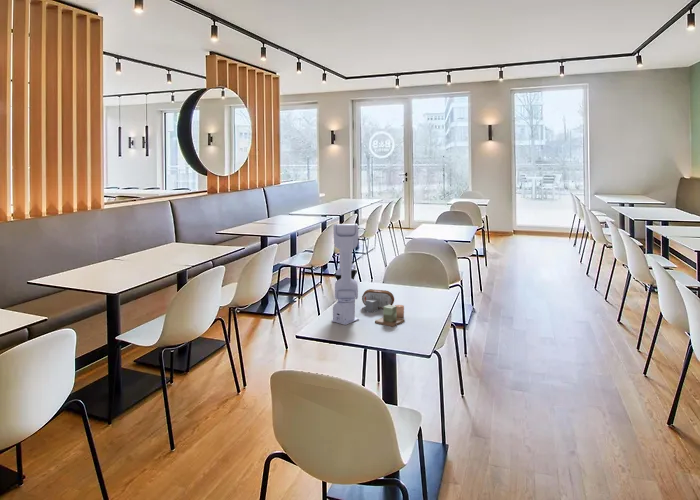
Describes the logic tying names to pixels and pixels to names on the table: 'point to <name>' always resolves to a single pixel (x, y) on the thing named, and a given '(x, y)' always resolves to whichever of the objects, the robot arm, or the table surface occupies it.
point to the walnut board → (390, 322)
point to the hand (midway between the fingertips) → (346, 287)
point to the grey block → (371, 305)
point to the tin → (379, 297)
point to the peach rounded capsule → (400, 311)
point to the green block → (389, 313)
